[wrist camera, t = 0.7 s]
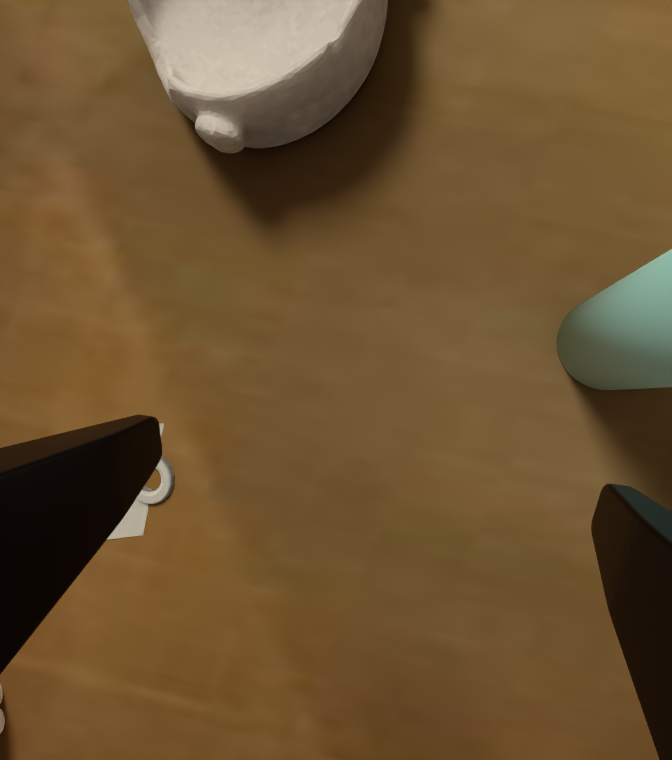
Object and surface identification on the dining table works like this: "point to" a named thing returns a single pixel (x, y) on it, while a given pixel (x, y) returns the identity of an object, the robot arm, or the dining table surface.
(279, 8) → the dish
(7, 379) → the dining table surface
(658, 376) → the teal dowel
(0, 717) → the mooncake
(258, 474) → the dining table surface
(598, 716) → the dining table surface
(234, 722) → the dining table surface
